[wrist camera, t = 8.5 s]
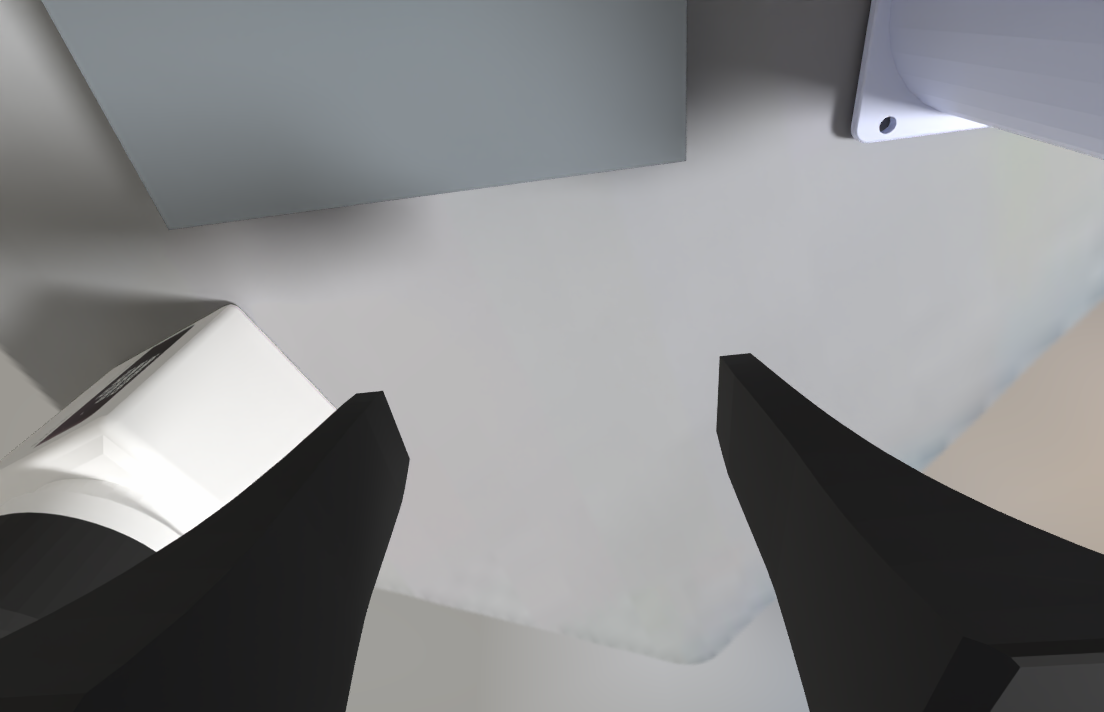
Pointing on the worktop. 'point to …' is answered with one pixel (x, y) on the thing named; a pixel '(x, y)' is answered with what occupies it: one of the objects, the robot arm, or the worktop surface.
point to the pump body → (376, 95)
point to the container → (145, 460)
